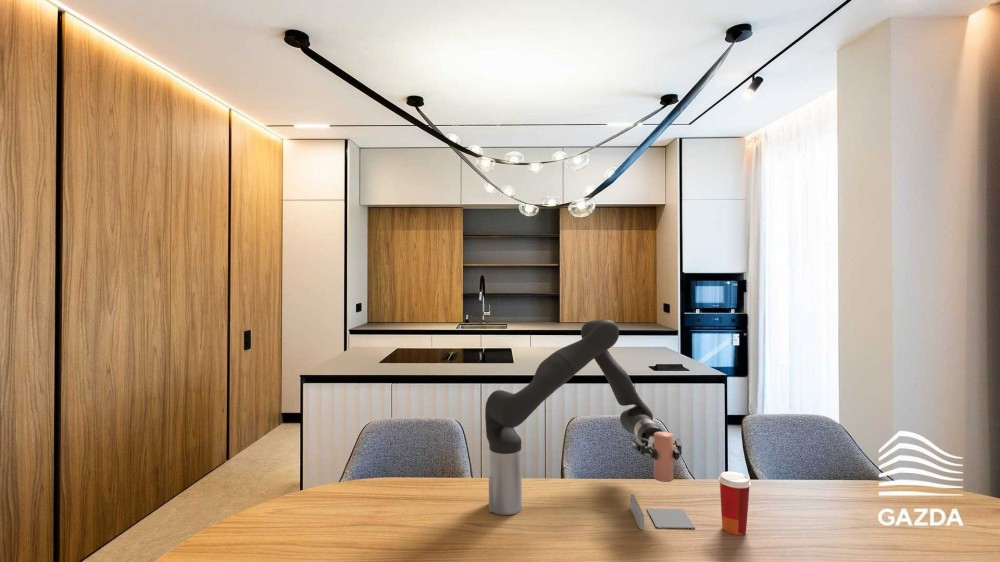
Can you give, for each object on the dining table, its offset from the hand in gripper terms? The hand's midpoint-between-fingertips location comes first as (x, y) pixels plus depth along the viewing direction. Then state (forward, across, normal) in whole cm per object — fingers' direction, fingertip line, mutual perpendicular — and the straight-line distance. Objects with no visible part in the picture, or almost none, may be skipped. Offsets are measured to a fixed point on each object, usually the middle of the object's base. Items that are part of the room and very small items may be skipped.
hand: (666, 456), depth 134 cm
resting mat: (-2, +2, +18) cm, 18 cm away
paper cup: (+3, +16, +18) cm, 25 cm away
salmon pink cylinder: (-3, 0, +7) cm, 8 cm away
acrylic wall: (-2, -8, +18) cm, 20 cm away
